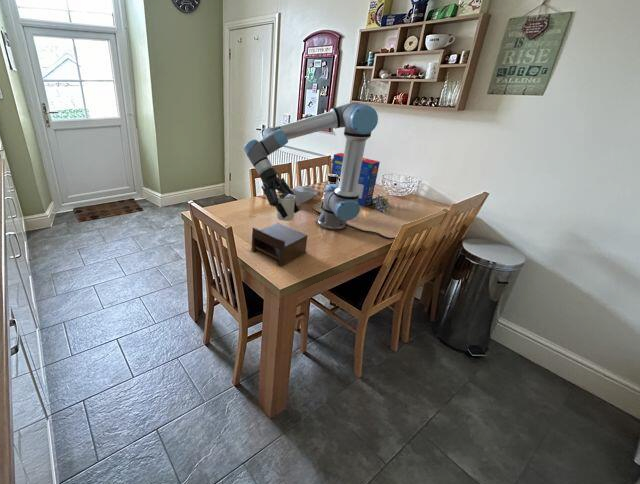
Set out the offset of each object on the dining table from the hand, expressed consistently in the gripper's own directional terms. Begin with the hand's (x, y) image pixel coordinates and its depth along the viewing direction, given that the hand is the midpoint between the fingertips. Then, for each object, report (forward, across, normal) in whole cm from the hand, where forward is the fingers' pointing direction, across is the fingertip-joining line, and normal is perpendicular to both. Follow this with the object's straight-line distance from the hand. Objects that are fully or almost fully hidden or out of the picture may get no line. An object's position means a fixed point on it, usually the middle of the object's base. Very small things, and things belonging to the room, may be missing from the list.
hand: (291, 214), depth 145 cm
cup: (-1, 0, -4) cm, 4 cm away
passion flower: (+18, -83, -11) cm, 85 cm away
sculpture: (-12, -59, -40) cm, 72 cm away
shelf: (+11, +3, -16) cm, 20 cm away
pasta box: (+2, -87, -26) cm, 90 cm away
